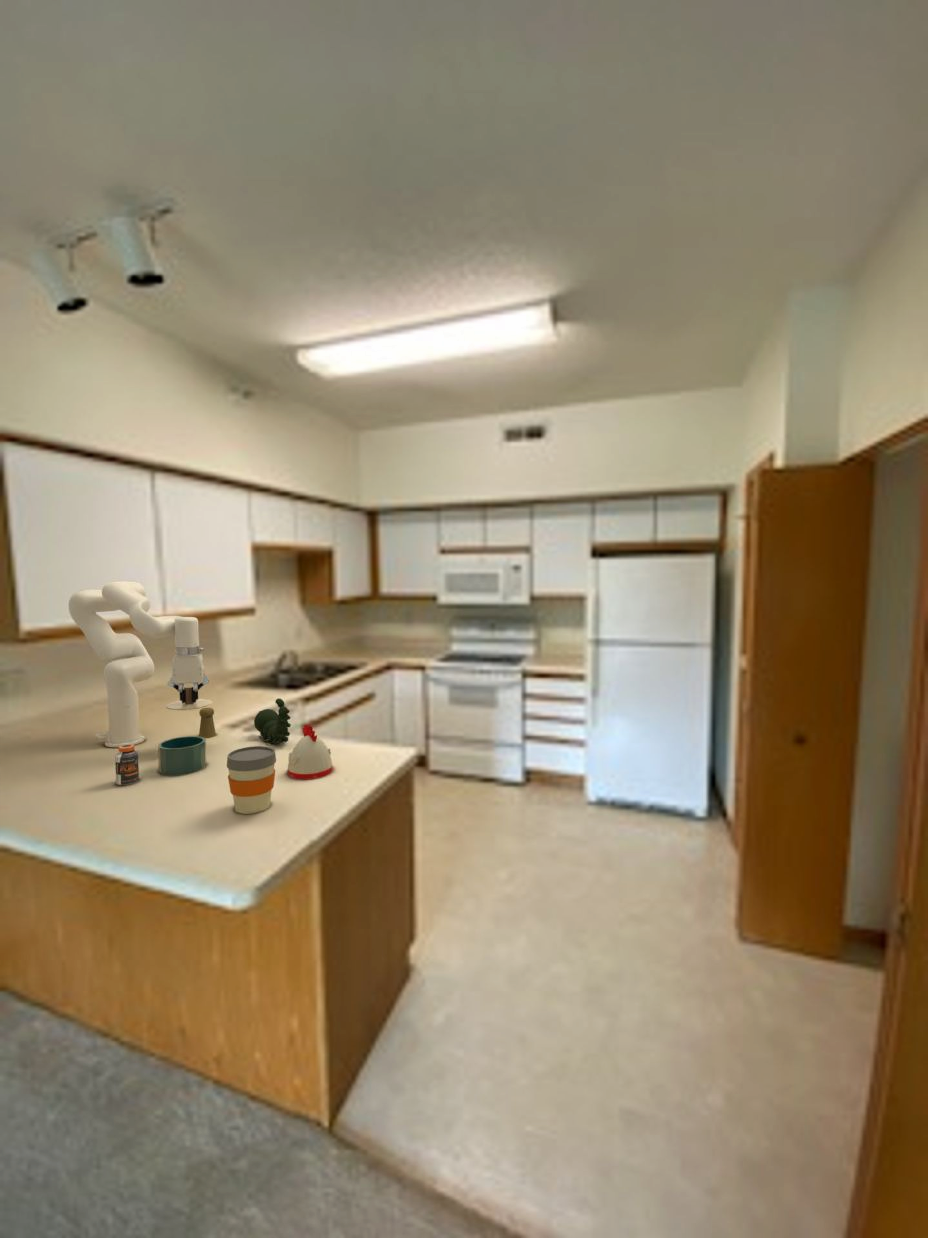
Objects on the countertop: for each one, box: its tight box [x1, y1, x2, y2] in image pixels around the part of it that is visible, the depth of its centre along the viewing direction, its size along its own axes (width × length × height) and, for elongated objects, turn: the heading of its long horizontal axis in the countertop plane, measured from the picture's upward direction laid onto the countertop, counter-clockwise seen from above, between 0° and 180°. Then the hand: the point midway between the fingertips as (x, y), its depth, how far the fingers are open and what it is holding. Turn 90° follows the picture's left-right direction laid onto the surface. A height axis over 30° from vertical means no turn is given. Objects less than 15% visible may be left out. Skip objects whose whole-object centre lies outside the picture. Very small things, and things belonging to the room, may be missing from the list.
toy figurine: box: [253, 698, 292, 745], centre depth 202 cm, size 9×19×25 cm
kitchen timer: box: [287, 724, 333, 780], centre depth 170 cm, size 14×14×15 cm
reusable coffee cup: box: [226, 745, 277, 815], centre depth 144 cm, size 13×13×15 cm
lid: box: [165, 685, 213, 711], centre depth 189 cm, size 15×15×7 cm
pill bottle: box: [114, 744, 140, 786], centre depth 160 cm, size 6×6×11 cm
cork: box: [198, 707, 217, 739], centre depth 207 cm, size 6×6×11 cm
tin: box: [157, 735, 207, 776], centre depth 172 cm, size 14×14×8 cm
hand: (189, 701), depth 189 cm, fingers closed on lid, 3 cm apart
